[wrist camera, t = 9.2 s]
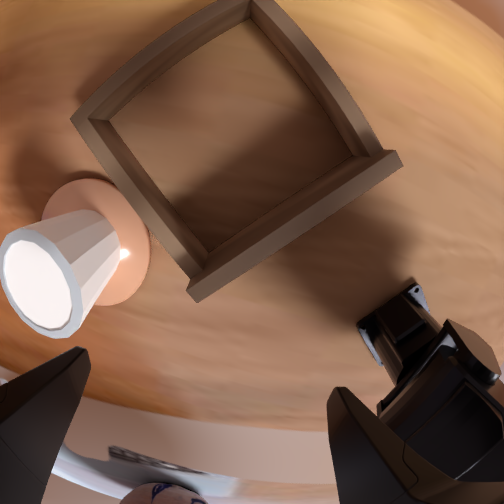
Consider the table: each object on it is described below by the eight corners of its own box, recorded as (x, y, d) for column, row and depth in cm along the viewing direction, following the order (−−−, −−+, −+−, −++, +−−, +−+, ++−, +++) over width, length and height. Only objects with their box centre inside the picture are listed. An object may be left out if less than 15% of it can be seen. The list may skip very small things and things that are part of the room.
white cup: (121, 300, 20) (81, 357, 14) (52, 269, 19) (1, 311, 13) (137, 217, 18) (87, 254, 11) (60, 189, 17) (-4, 212, 10)
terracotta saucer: (178, 257, 20) (175, 262, 19) (98, 319, 22) (94, 324, 21) (96, 149, 17) (90, 150, 16) (29, 231, 19) (24, 234, 18)
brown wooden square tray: (371, 160, 18) (403, 166, 14) (206, 271, 20) (197, 303, 16) (253, 2, 14) (255, -30, 9) (91, 120, 16) (56, 117, 12)
